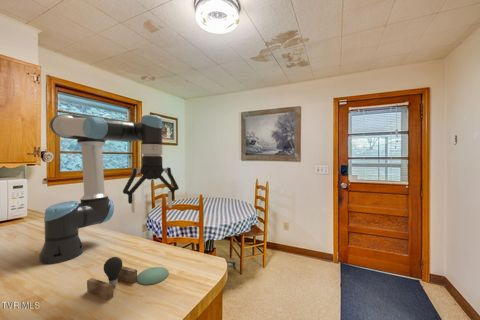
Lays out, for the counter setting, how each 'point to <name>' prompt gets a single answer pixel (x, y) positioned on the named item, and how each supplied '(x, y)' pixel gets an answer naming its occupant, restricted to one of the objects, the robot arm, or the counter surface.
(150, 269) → the pad
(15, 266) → the counter surface
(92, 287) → the pair of wooden planks
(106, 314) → the counter surface
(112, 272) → the light bulb
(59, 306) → the counter surface
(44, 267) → the counter surface
